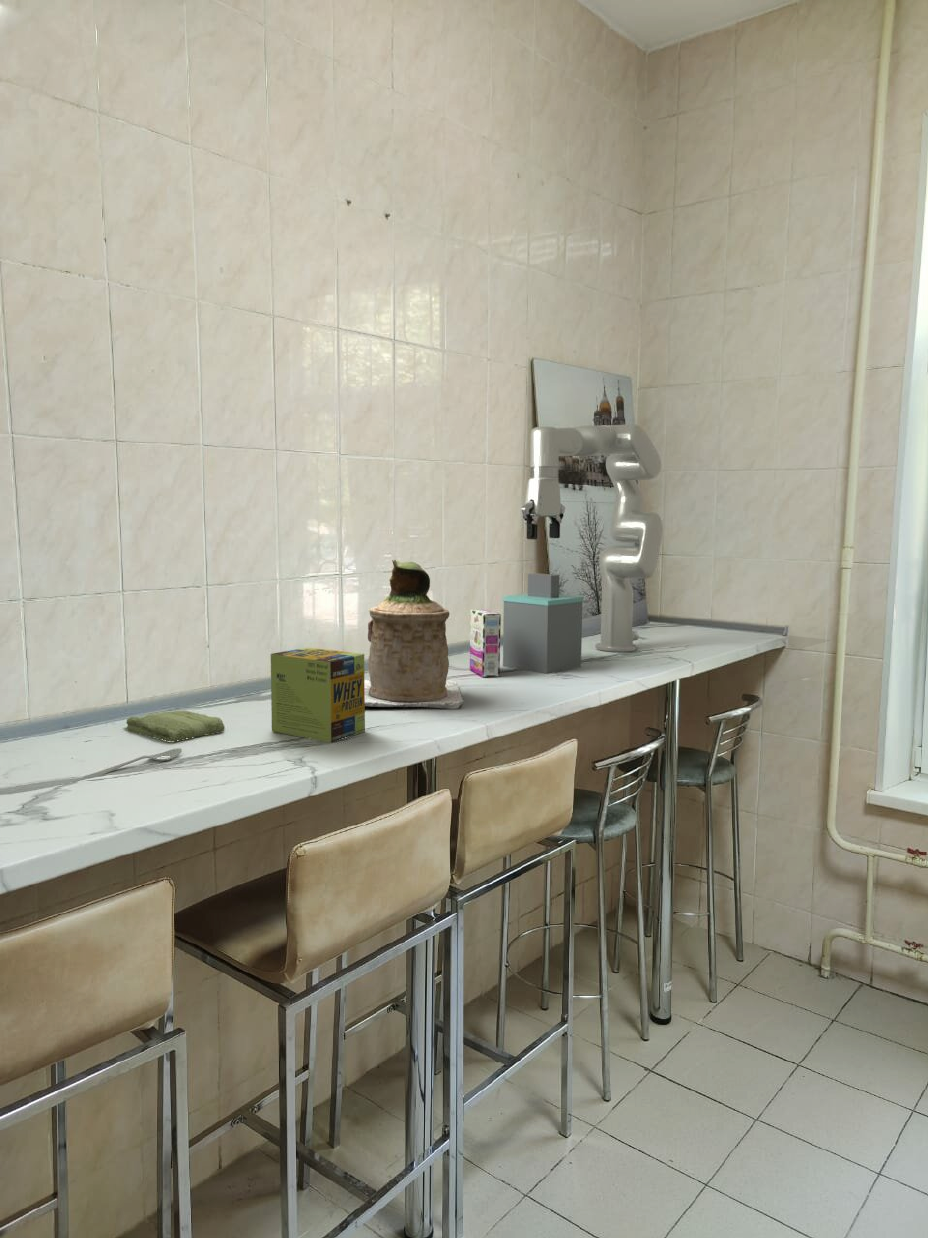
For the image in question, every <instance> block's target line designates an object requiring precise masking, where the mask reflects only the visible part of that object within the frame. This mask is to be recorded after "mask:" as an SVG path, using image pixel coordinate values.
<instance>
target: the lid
mask: <svg viewBox="0 0 928 1238" xmlns="http://www.w3.org/2000/svg"><path fill="white" fill-rule="evenodd" d="M584 600H585V599H584V596H580V595H579V596H578V595H570V594H569V595H568V594H560V574H550V573H549V574H547V573H538V572H537V573H535V572H534V573H528V574H527V593H522V594H513V595H504V596H502V601H503V602H504V601H509V602H518V603H527V604H537V605H546V606H549V605H557V604H565V603H573V602H581V601H582V602H585V601H584Z"/></svg>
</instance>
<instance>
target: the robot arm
mask: <svg viewBox="0 0 928 1238" xmlns="http://www.w3.org/2000/svg"><path fill="white" fill-rule="evenodd" d="M529 449H530V450H529V451H530V454H529V455H530V459H529V460H530V462H529V464H530V465H529V467H530V469H529V470H530V471H529V478H528V480H527V486H526V492H525V501H524V502H525V504H524V505H523V506H522V507H521V510H520V511H521V513H522V518H523V520H524V523H525V525H526V539H527V540H538V524H537V522H538V519H539V518H540V517H541V518H549V521H550V523H549V529H548V530H549V538H550V539H560V538H561V524H562V520H563V519H564V513H565V510H566V507H565V506H564V505H563V504H562V503H561V490H560V489H561V488H560V481H559V465H560V464H559V463H560V462H559V461H560V460H559V457H595V456H607V458H606V460H605V468H606V472H607V475H608V476H609V479H610V481H611V483H612V486H613V488H614V492H615V500H614V507H613V512H612V518H611V523H610V530H609V531H610V537H611V538H612V540H614V541H616V542H619V543H631V544H632V543H633V544H639V546H629V545H611V546H608V547H605V548H604V549H603V550H602V551H601V552H600V555H599V559H598V562H599V570H600V576H601V608H600V609H601V611H600V612H601V615H600V618H601V619H600V642H598V643H596V644H595V649H596V650H599V651H604V652H614V653H615V652H617V653H619V652H620V653H622V652H624V653H625V652H626V653H627V652H634V651H637V649H638V645H636V644H634V641H638V640H639V639H640V636H639V635H638V633H635V634H634V633H633V624H634V623H633V620H634V619H633V618H634V617H633V616H634V615H633V613H634V589H633V587H632V584H631V581H630V580H629V579H639V580H641V579H642V580H645V579H650V578H651V577H653V575H654V574H655V572H656V570H657V567H658V562H659V556H660V550H661V545H662V540H663V533H664V530H663V529H664V524H663V521H662V519H661V517H660V515H659V514H658V513H656V512H654V511H648V510H647V511H645V510H644V511H643V506H644V497H645V496H644V493H643V490H642V489H641V487H640V485H639V484H638V482H637V481H638V480H640V481H641V480H646V481H647V480H653V479H655V478H657V477H658V476H659V475H660V473H661V470H662V461H661V460H662V459H661V457H660V455H659V452H658V451H657V449H656V447H655V446H654V443H653V441H652V440H651V438H650V437H649V435H648V433H647V432H646V431H645V430H644V428H643V427H641V426H640V425H638V424H635V423H632V424H631V423H630V424H615V425H612V424H611V425H609V424H607V425H606V424H605V425H584V426H583V425H581V426H575V427H554V426H536V427H533V428H532V429H531V431H530V448H529ZM636 480H637V481H636Z"/></svg>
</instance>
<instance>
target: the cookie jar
mask: <svg viewBox="0 0 928 1238" xmlns="http://www.w3.org/2000/svg"><path fill="white" fill-rule="evenodd" d="M391 561H392V565H393V568H392V570H391V576H390V578H389V580H388V581H389V585H390V589H391V590H390V593H389V595H388V596H387V597H386V598H385V599H383V601H382V602H381V603H379V605H378V606H373V607H371V608H370V610H369V611H368V612H369V615H370V617H371V619H370V620H369V621H368V624H367V639H368V642H369V643H370V646H369V655H368V660H367V661H368V663H367V665H368V674H369V678H370V679H364V683H365V707H373V708H374V707H378V708H409V707H410V708H437V709H444V708H447V709H448V710H449V709H453V710H456V709H455V708H458V709H459V707H460V705H463V703H464V698H463V697H462V692H461V691H460V687H459V686H458V682H457V681H454V680H447V677H448V674H449V668H450V667H449V666H450V661H449V647H448V641H447V635H446V629H447V628H446V627H447V624H446V621H447V620H448V619H449V617H450V611H449V610H448V609H446V608H444V607H443V606H442V605H441V604H439V603H438V602H437V601H435V600H432V599H430V597H429V596H428V595H427V594H428V593H429V590H430V587H431V578H430V576H429V574H428V572H427V571H426V570H424V569H423V568H422V566H421V565H420V564H418V563H416V562H414V561H402V562H400V561H397V560H396V559H395V558H392V559H391ZM447 709H446V710H447Z"/></svg>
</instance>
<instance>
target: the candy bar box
mask: <svg viewBox="0 0 928 1238" xmlns="http://www.w3.org/2000/svg"><path fill="white" fill-rule="evenodd" d="M469 611H470V615H469V616H470V618H469V619H470V623H469V626H470V627H469V629H470V630H469V671H470V672H472V673H474V674H476V675H478V676H479V677H481V678H499V677H500V672H501V671H500V669H501V668H500V667H501V665H500V663H501V628H502V627H501V626H502V625H501V624H502V623H501V621H502V619H501V618H502V613H501V614H500V613H498V612H495V611H492V610H489V609H470V610H469Z"/></svg>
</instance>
